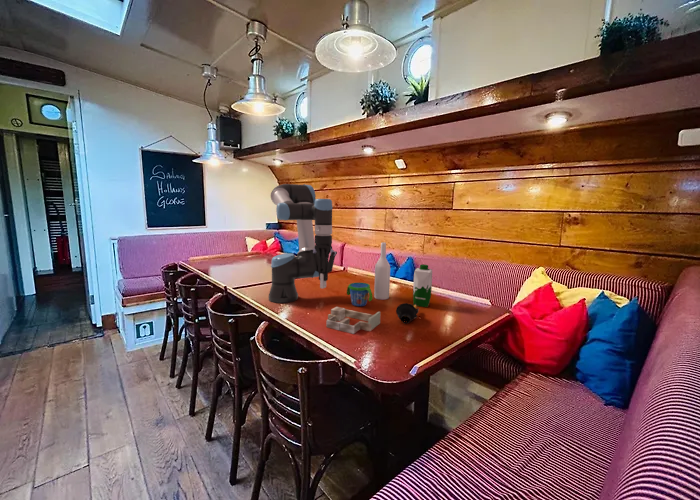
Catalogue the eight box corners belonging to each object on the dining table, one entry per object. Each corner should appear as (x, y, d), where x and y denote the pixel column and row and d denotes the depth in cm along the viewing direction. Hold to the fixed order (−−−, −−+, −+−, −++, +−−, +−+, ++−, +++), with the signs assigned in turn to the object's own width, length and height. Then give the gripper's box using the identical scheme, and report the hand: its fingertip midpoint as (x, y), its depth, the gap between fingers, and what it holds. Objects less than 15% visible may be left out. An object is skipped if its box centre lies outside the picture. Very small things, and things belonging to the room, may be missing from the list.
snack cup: (341, 302, 158) (341, 283, 156) (356, 298, 164) (357, 280, 163) (361, 310, 146) (361, 290, 144) (377, 306, 152) (378, 286, 151)
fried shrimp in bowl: (391, 314, 129) (395, 290, 145) (401, 334, 133) (404, 308, 148) (412, 309, 126) (414, 285, 141) (422, 329, 129) (422, 303, 145)
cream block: (330, 319, 135) (331, 309, 134) (336, 316, 139) (336, 306, 138) (339, 321, 133) (339, 311, 132) (344, 318, 136) (345, 308, 136)
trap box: (320, 325, 127) (320, 314, 127) (339, 314, 141) (340, 303, 140) (363, 336, 118) (364, 324, 117) (380, 323, 131) (380, 311, 131)
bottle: (378, 294, 173) (380, 241, 168) (391, 297, 168) (393, 242, 164) (371, 297, 166) (373, 242, 162) (384, 300, 162) (386, 244, 157)
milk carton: (431, 303, 159) (433, 265, 156) (429, 308, 151) (431, 268, 148) (414, 300, 163) (416, 263, 160) (411, 305, 154) (413, 266, 151)
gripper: (306, 234, 134) (306, 287, 137) (331, 236, 128) (331, 291, 131) (316, 233, 140) (316, 283, 144) (340, 234, 134) (340, 287, 137)
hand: (323, 287), depth 137 cm, fingers closed
